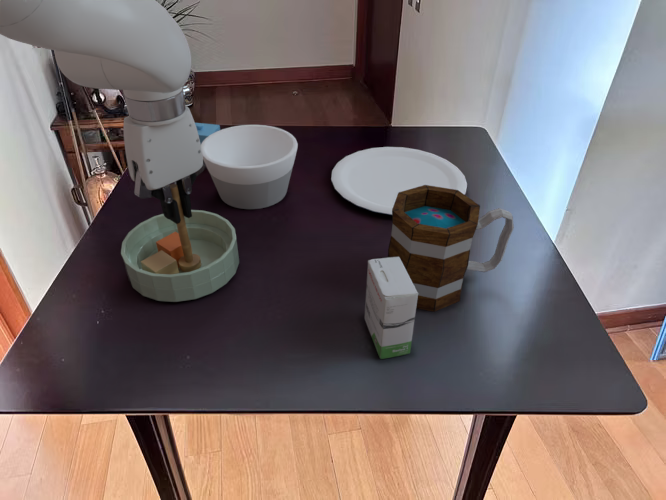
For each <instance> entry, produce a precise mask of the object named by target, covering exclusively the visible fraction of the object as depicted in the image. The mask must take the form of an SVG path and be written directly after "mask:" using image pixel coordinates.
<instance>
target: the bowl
mask: <svg viewBox="0 0 666 500" xmlns="http://www.w3.org/2000/svg"><path fill="white" fill-rule="evenodd" d="M298 147H299V143H298V141H297V138H296V137H295V135H293V134H292V133H290V132H289V131H287V130H285V129H283V128H280V127H277V126H272V125H265V124H239V125H234V126H230V127H225V128H222V129H220V131H217V132H215V133H213V134H211V135H209V136H208V137H207V138H205V140H204V141H203V142H202V144H201V149H202V155H203V163H204V165H205V168H206V169H207V171H208V173H209V175H210V177H211V180H212V182H213V184H214V187H215V188H216V189H215V190H216V191H217V193H218V196H219V197H220V199H221V200H222V201H223V202H224V203H225V204H227V205H228V206H230V207H233V208H235V209H240V210H241V209H242V210H243V209H244V210H259V209H263V208H269V207H271V206H274V205H275V204H278V203H279V202H281V201H282V200H283V199H284V198H285V197H286V195H287V192H288V188H289V184H290V181H291V180H290V179H291V177H292V172H293V167H294V164H295V160H296V156H297V152H298Z"/></svg>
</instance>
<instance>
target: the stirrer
mask: <svg viewBox="0 0 666 500" xmlns="http://www.w3.org/2000/svg"><path fill="white" fill-rule="evenodd" d="M169 185H170V189H171V193H172V197H173V199H174V200H176V201H177V204H178V209H179V214H180V219H181V221H180V223H178V224H176V225H177V229H178V233H179V237H180V242H181V246H182V250H183V254H184V256H182V257H181V258H180V259H179V261H178V263H179V267H180V270H181V271H183V272H191V271H194V270H197V269H199V268H200V267H201V259H200V256H198V255H197V254H192V250H191V245H190V241H189V236H188V232H187V227H186V223H185V218H184V214H183V209H182V205H181V200H180V196H179V191H178V187H177V185H176V184H174V183H171V184H169Z"/></svg>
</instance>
